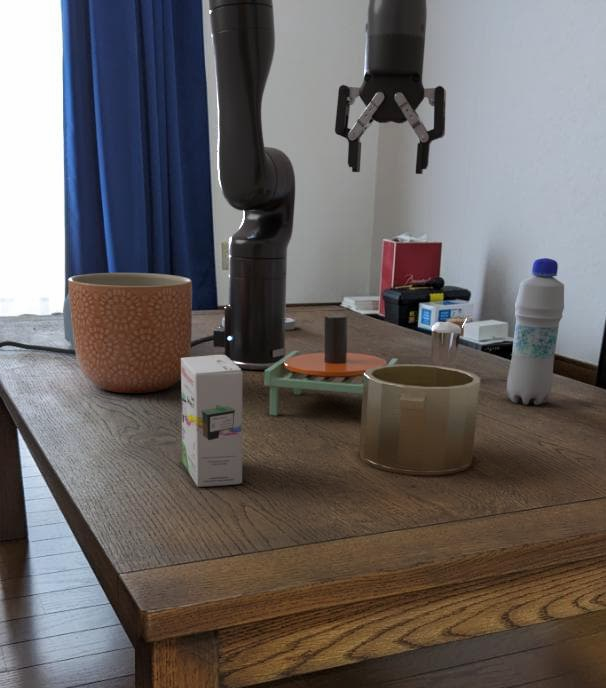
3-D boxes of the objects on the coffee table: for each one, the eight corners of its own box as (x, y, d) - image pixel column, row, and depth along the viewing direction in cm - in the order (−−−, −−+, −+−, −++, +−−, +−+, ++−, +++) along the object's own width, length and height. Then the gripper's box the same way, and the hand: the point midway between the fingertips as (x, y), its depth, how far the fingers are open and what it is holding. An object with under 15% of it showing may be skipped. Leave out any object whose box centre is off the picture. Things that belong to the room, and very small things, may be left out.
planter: (158, 405, 121) (154, 289, 115) (51, 391, 126) (42, 280, 121) (212, 381, 136) (212, 277, 130) (115, 370, 141) (110, 270, 136)
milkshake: (460, 384, 140) (467, 319, 136) (426, 382, 141) (431, 317, 137) (461, 378, 144) (468, 315, 140) (428, 376, 145) (433, 313, 141)
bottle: (552, 399, 132) (572, 257, 125) (548, 409, 126) (569, 261, 119) (506, 394, 134) (523, 255, 127) (500, 404, 128) (518, 258, 121)
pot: (345, 476, 95) (350, 387, 92) (374, 433, 112) (379, 356, 108) (465, 488, 93) (474, 398, 89) (476, 443, 109) (484, 365, 105)
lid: (272, 378, 117) (271, 321, 114) (298, 359, 129) (297, 307, 126) (377, 383, 113) (379, 325, 111) (393, 363, 126) (395, 310, 123)
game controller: (294, 325, 188) (294, 316, 188) (296, 335, 177) (296, 326, 176) (223, 323, 188) (223, 314, 187) (219, 334, 176) (219, 324, 175)
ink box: (180, 463, 98) (178, 354, 93) (225, 460, 99) (225, 353, 95) (195, 488, 90) (194, 371, 86) (243, 485, 92) (244, 370, 87)
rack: (263, 415, 118) (264, 370, 116) (292, 391, 132) (293, 350, 129) (377, 426, 115) (380, 380, 112) (395, 400, 128) (398, 358, 126)
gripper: (454, 39, 116) (443, 175, 122) (346, 39, 119) (340, 171, 125) (449, 30, 109) (437, 174, 115) (334, 30, 112) (329, 171, 118)
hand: (387, 173), depth 120 cm, fingers open, 8 cm apart
